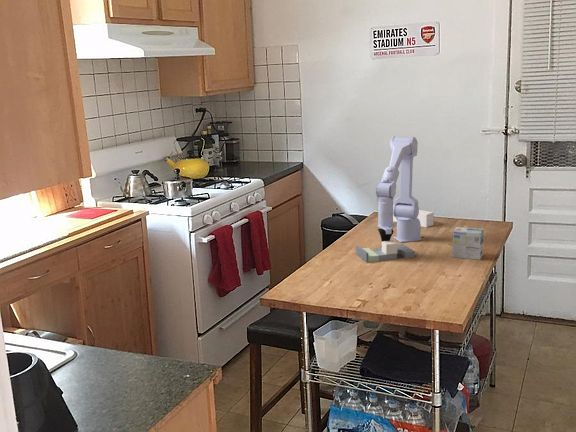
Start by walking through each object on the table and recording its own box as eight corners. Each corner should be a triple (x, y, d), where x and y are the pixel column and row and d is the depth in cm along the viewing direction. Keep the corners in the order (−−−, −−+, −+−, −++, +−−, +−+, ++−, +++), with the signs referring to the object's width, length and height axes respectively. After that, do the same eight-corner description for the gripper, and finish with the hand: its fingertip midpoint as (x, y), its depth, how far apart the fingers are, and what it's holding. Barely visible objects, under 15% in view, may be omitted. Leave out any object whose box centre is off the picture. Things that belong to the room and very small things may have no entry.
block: (392, 250, 258) (392, 240, 257) (397, 253, 254) (397, 243, 253) (381, 251, 257) (381, 241, 256) (386, 254, 253) (386, 244, 252)
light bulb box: (483, 255, 256) (484, 228, 253) (480, 260, 250) (481, 232, 247) (455, 252, 260) (456, 226, 258) (451, 257, 254) (452, 230, 252)
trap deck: (402, 249, 267) (402, 240, 266) (414, 256, 256) (414, 247, 256) (356, 254, 262) (355, 245, 261) (366, 262, 252) (366, 253, 251)
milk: (426, 214, 296) (385, 207, 311) (426, 227, 298) (385, 220, 312) (434, 212, 300) (393, 205, 315) (433, 225, 302) (393, 217, 317)
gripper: (399, 217, 249) (399, 252, 252) (392, 208, 263) (392, 241, 266) (380, 218, 249) (380, 252, 252) (374, 209, 263) (374, 242, 266)
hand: (385, 247), depth 259 cm, fingers closed
